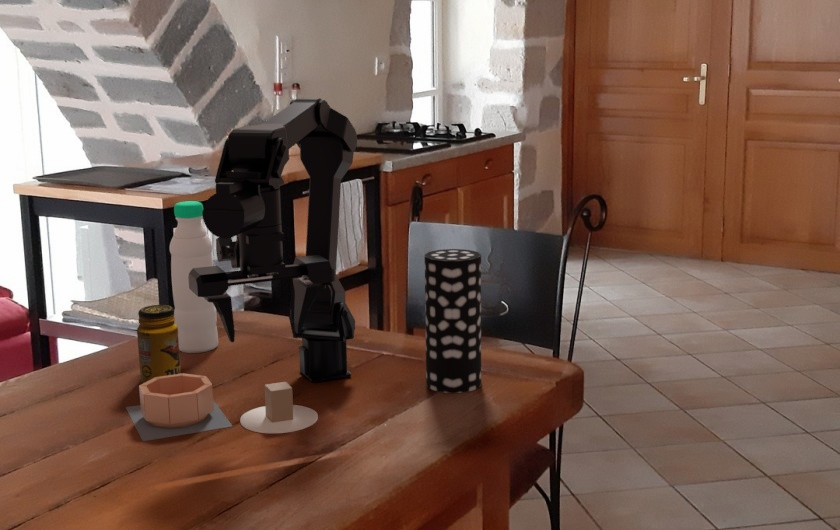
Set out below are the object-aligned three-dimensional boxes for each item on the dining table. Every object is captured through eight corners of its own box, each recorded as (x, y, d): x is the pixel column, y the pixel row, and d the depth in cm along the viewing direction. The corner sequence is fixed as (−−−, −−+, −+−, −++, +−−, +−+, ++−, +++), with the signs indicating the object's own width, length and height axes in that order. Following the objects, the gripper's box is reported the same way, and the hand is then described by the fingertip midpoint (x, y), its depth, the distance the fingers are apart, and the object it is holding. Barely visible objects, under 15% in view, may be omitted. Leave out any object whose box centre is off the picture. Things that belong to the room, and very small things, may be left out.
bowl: (203, 401, 155) (201, 370, 154) (218, 422, 146) (216, 390, 145) (138, 411, 151) (135, 379, 150) (149, 433, 143) (147, 400, 142)
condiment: (190, 385, 163) (185, 309, 161) (136, 397, 159) (130, 318, 156) (173, 373, 169) (168, 299, 167) (120, 383, 165) (114, 308, 162)
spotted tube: (452, 397, 157) (451, 263, 152) (414, 383, 163) (412, 254, 158) (492, 384, 162) (492, 254, 157) (454, 371, 168) (454, 246, 164)
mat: (209, 398, 157) (209, 394, 157) (233, 430, 145) (232, 426, 145) (125, 411, 153) (125, 407, 153) (142, 445, 140) (142, 441, 140)
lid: (304, 406, 154) (303, 370, 153) (329, 431, 145) (328, 392, 144) (231, 417, 150) (230, 380, 149) (252, 443, 141) (251, 403, 139)
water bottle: (168, 348, 182) (158, 202, 177) (204, 339, 187) (195, 197, 182) (190, 356, 177) (180, 207, 172) (226, 347, 182) (218, 202, 176)
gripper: (307, 208, 153) (311, 314, 156) (176, 220, 145) (183, 331, 149) (334, 221, 143) (337, 333, 146) (195, 234, 135) (202, 352, 139)
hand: (265, 337), depth 145 cm, fingers open, 9 cm apart
